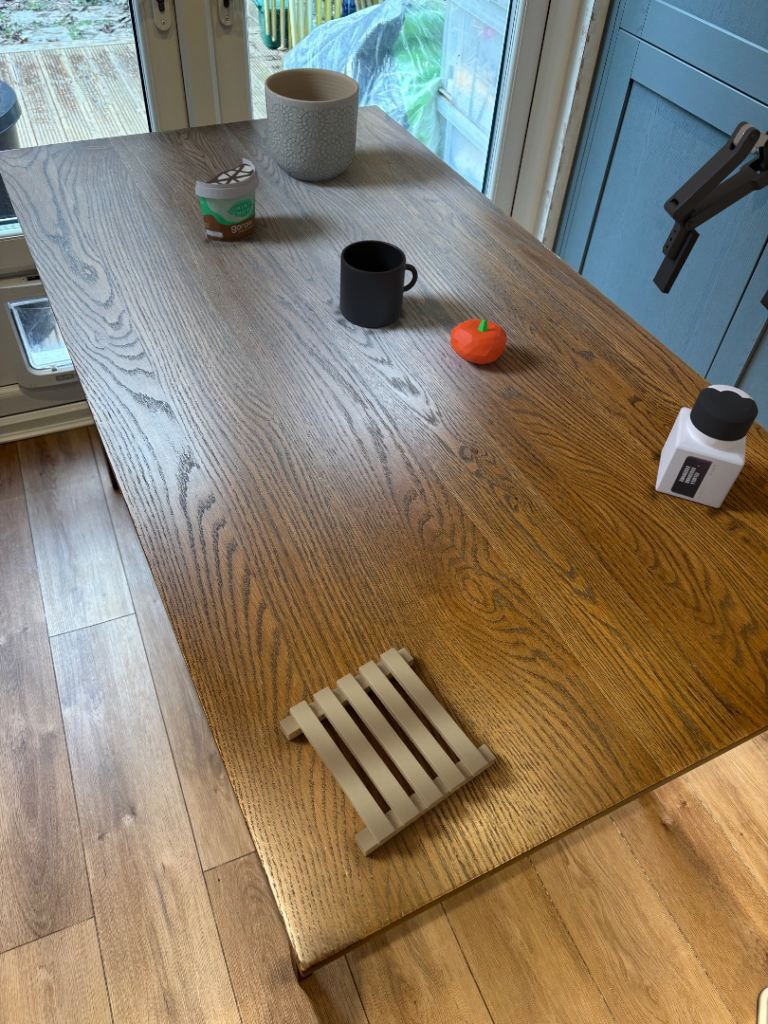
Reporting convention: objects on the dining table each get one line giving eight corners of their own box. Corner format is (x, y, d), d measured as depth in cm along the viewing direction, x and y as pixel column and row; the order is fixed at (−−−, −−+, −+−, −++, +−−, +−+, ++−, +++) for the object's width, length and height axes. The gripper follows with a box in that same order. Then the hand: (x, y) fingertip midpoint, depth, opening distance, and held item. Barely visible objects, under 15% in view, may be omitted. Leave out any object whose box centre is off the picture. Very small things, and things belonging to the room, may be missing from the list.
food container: (229, 253, 123) (223, 193, 115) (201, 241, 125) (193, 181, 118) (276, 225, 130) (274, 167, 123) (249, 214, 132) (245, 156, 125)
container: (719, 510, 90) (766, 428, 80) (654, 491, 91) (693, 409, 82) (722, 468, 95) (767, 387, 85) (660, 451, 96) (698, 369, 87)
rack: (495, 765, 67) (499, 755, 65) (366, 859, 61) (367, 850, 59) (402, 651, 74) (403, 640, 73) (278, 725, 68) (277, 715, 67)
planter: (264, 187, 140) (259, 98, 128) (273, 149, 151) (269, 64, 140) (355, 192, 140) (358, 104, 129) (357, 154, 152) (359, 70, 140)
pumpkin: (451, 338, 110) (457, 299, 106) (505, 347, 110) (513, 309, 105) (444, 366, 106) (449, 327, 101) (500, 376, 105) (508, 337, 100)
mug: (426, 320, 113) (433, 265, 106) (351, 333, 110) (353, 277, 103) (403, 287, 119) (408, 234, 112) (331, 298, 116) (332, 244, 109)
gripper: (924, 103, 73) (794, 300, 87) (702, 39, 67) (601, 261, 81) (976, 128, 67) (828, 334, 81) (740, 61, 62) (624, 295, 75)
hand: (715, 298), depth 81 cm, fingers open, 13 cm apart
